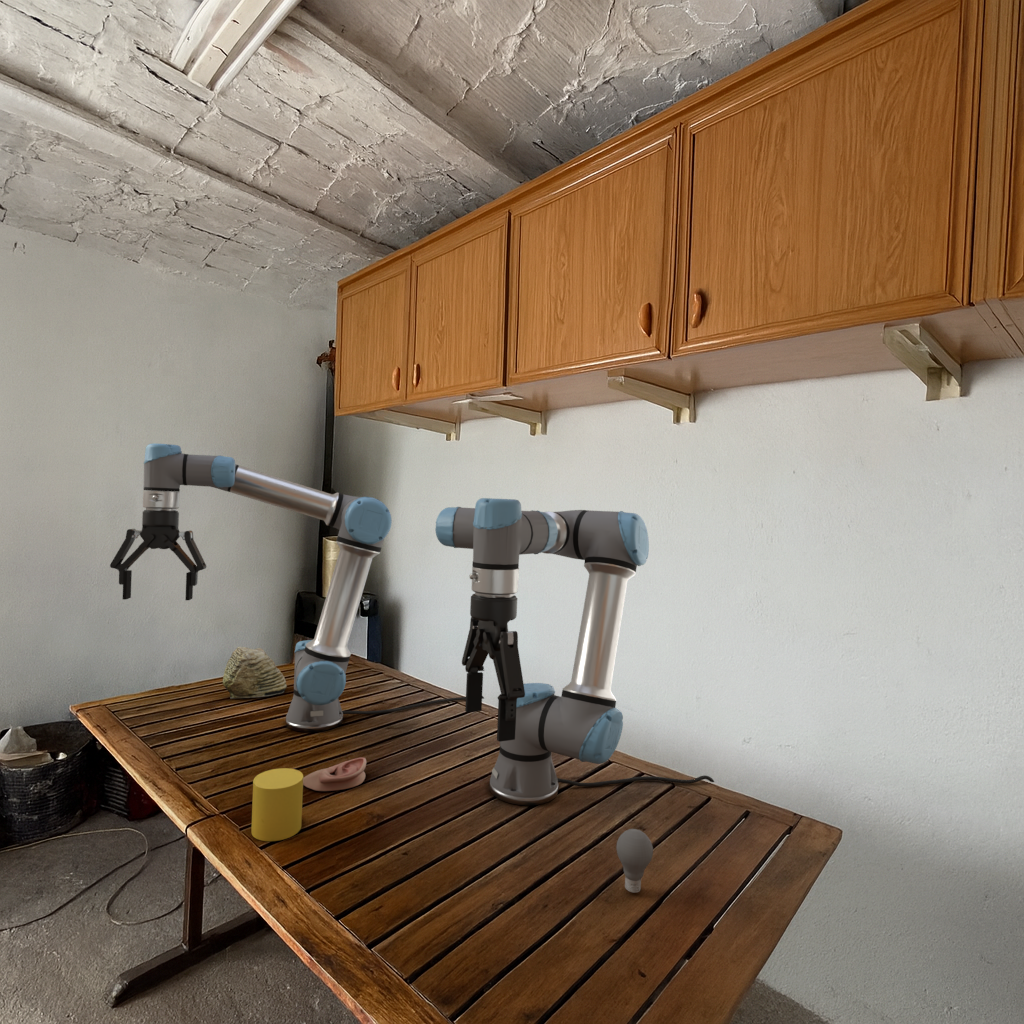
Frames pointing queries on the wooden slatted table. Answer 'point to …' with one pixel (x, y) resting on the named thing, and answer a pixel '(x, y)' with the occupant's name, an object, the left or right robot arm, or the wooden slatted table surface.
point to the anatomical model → (337, 776)
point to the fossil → (252, 674)
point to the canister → (277, 804)
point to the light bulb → (634, 857)
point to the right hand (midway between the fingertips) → (488, 724)
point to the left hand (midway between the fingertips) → (158, 599)
